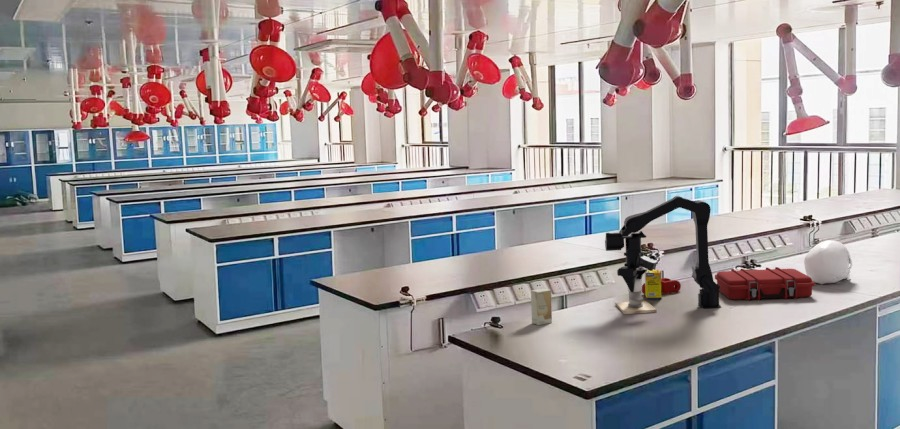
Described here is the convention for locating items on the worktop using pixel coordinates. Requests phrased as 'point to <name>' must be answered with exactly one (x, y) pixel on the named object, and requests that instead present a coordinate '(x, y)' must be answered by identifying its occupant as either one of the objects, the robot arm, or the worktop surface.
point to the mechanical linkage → (667, 286)
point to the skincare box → (541, 306)
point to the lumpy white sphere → (828, 262)
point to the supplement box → (653, 284)
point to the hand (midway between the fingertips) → (634, 290)
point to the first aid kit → (764, 284)
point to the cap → (637, 285)
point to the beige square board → (635, 305)
